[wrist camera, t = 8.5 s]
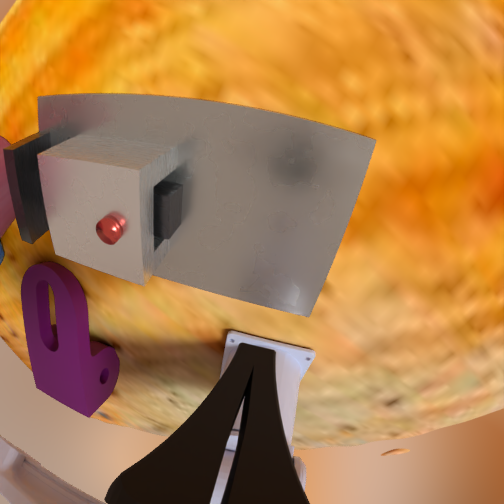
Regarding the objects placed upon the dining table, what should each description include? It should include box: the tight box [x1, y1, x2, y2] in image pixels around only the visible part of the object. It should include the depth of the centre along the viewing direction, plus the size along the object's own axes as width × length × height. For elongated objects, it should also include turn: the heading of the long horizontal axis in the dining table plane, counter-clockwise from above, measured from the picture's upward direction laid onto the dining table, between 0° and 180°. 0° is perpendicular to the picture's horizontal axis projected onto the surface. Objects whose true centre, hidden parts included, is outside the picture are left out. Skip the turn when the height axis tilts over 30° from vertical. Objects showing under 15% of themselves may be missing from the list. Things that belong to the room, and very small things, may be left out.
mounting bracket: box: [21, 261, 120, 417], centre depth 30 cm, size 10×8×18 cm
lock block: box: [37, 135, 175, 286], centre depth 17 cm, size 8×8×5 cm
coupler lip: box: [3, 93, 376, 317], centre depth 18 cm, size 14×24×4 cm, turn 81°
